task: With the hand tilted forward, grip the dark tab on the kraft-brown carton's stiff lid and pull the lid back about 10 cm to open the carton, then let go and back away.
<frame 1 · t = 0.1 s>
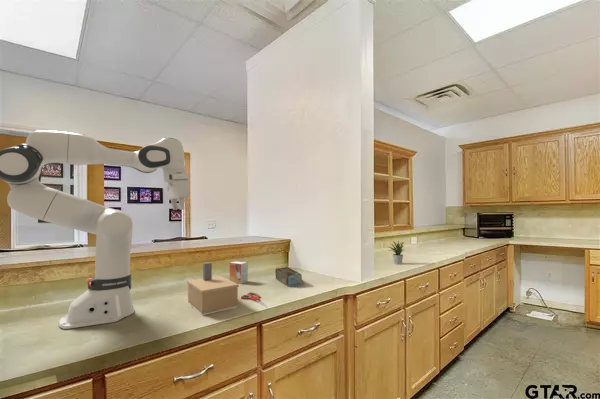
hand: (178, 209, 125), 39 cm above the worktop, tool pointing down, fingers open, 8 cm apart
carton lid: (212, 275, 120), point 12 cm above the worktop, slide at 0.0 cm
small box: (238, 282, 157), on the worktop
house plant: (398, 263, 208), on the worktop
beverage carton: (288, 282, 157), on the worktop
carton: (212, 305, 120), on the worktop
scissors: (259, 302, 125), on the worktop
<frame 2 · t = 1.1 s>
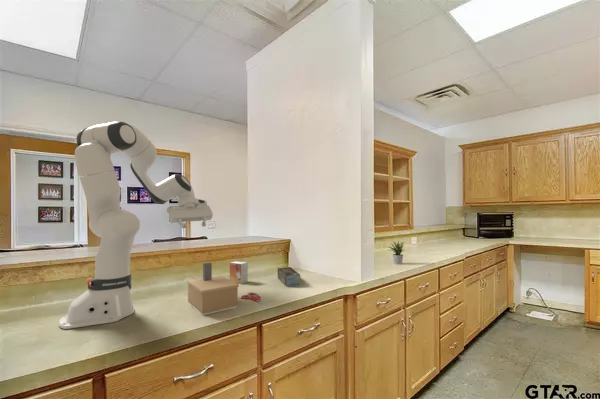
hand: (194, 226, 141), 31 cm above the worktop, tool tilted 45°, fingers open, 8 cm apart
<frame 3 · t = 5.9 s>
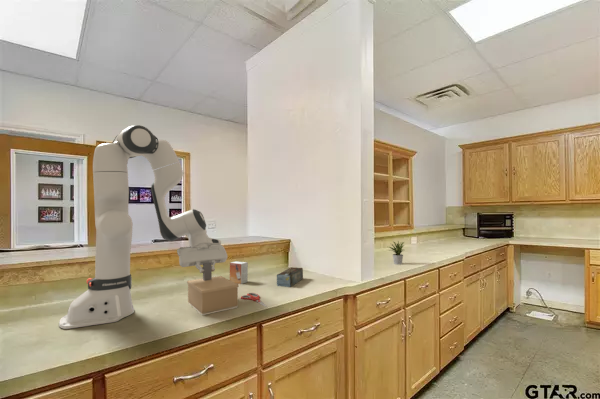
hand: (207, 271, 125), 13 cm above the worktop, tool tilted 45°, fingers closed on carton lid, 3 cm apart
carton lid: (212, 275, 120), point 12 cm above the worktop, slide at 0.0 cm, touching gripper
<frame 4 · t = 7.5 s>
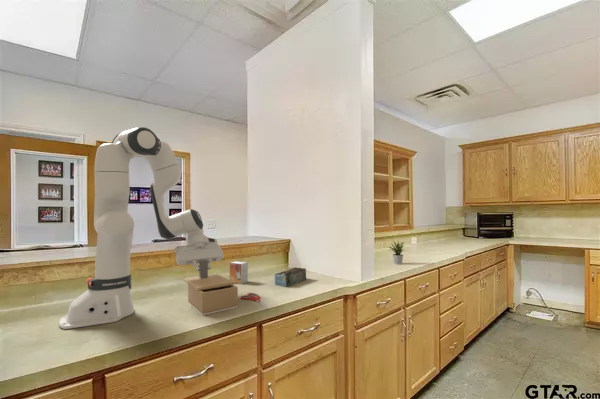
hand: (204, 269, 128), 13 cm above the worktop, tool tilted 45°, fingers closed on carton lid, 3 cm apart
carton lid: (208, 273, 124), point 12 cm above the worktop, slide at 4.7 cm, touching gripper
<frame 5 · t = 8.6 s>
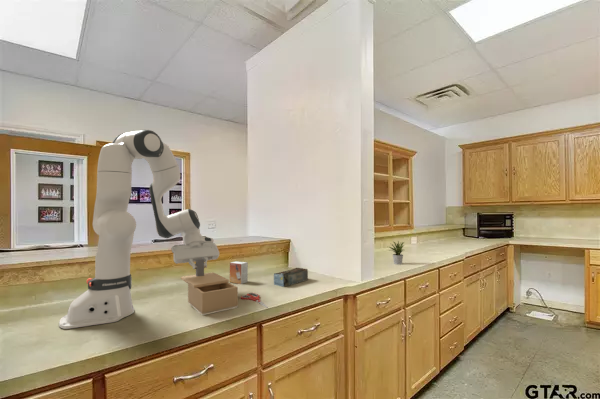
hand: (200, 267, 132), 13 cm above the worktop, tool tilted 45°, fingers closed on carton lid, 3 cm apart
carton lid: (204, 271, 128), point 12 cm above the worktop, slide at 9.7 cm, touching gripper
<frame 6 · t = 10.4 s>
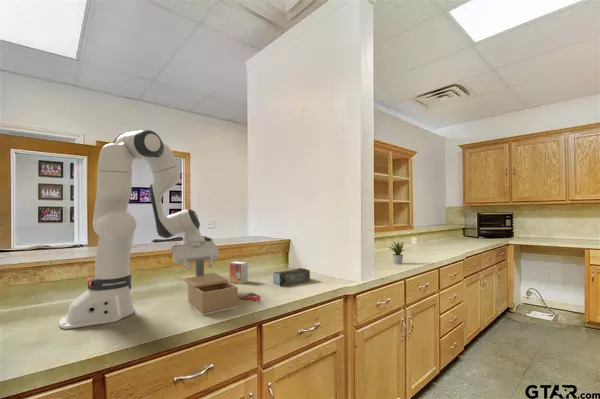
hand: (200, 267, 133), 13 cm above the worktop, tool tilted 45°, fingers open, 8 cm apart
carton lid: (204, 271, 128), point 12 cm above the worktop, slide at 9.9 cm
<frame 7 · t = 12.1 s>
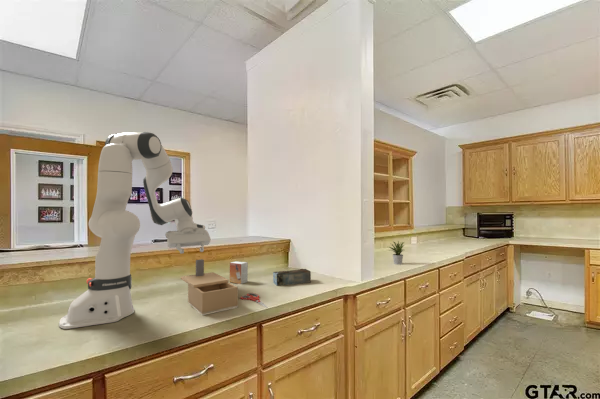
hand: (192, 251, 142), 18 cm above the worktop, tool tilted 45°, fingers open, 8 cm apart
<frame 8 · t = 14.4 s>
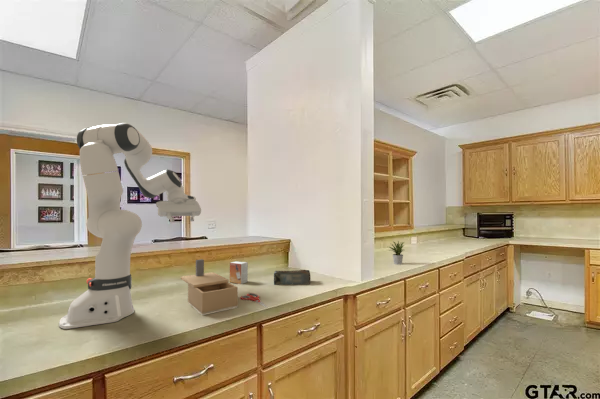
hand: (182, 220, 144), 33 cm above the worktop, tool tilted 45°, fingers open, 8 cm apart
at the end: carton lid slide at 9.9 cm; the gripper is holding nothing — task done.
